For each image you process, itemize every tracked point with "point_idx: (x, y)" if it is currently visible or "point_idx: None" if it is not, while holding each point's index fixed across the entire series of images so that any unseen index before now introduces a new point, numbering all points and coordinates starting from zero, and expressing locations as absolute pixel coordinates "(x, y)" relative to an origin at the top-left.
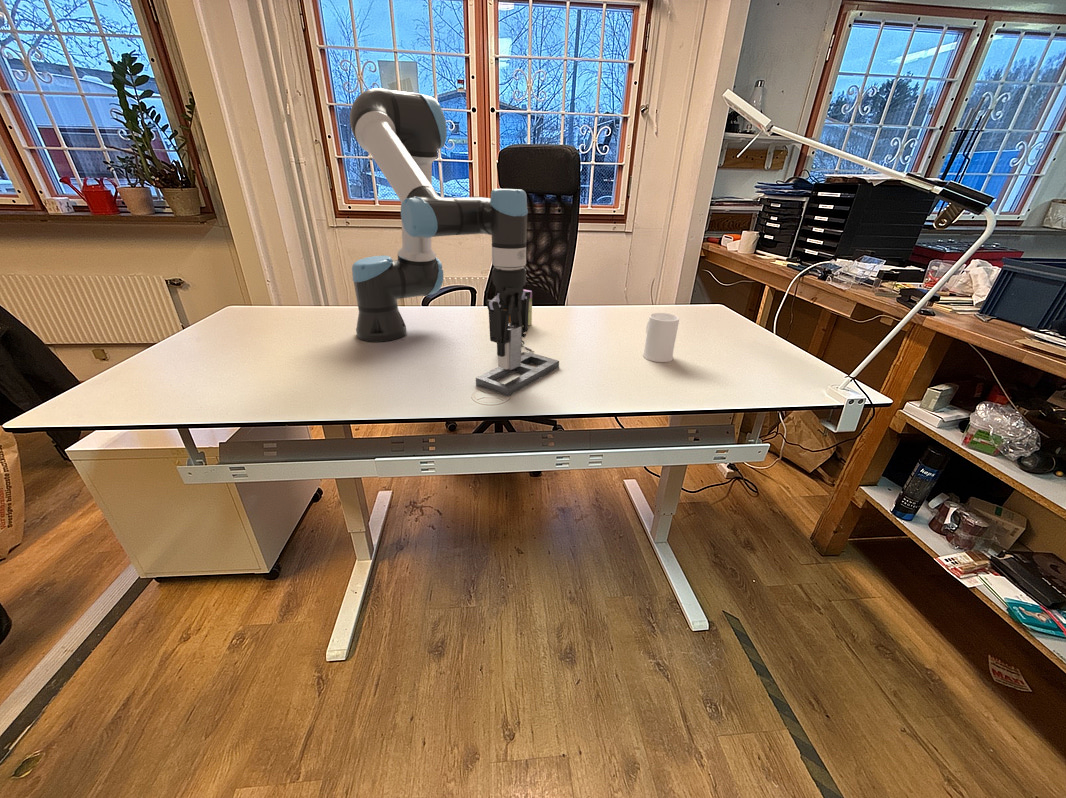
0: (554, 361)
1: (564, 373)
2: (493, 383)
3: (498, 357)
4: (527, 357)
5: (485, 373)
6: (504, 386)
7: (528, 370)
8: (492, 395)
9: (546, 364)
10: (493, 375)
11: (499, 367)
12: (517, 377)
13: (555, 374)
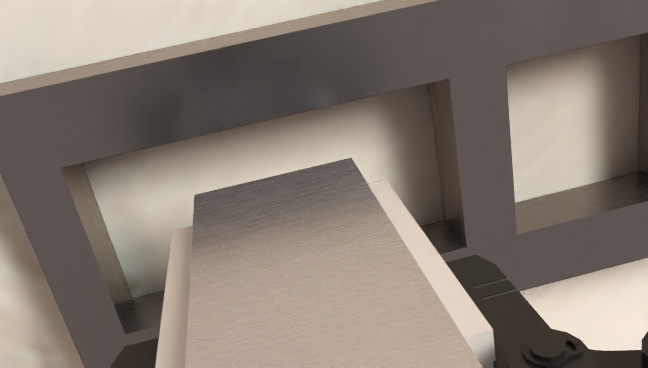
0: None
1: (633, 296)
2: (55, 282)
3: (167, 284)
4: (643, 26)
5: (104, 81)
6: (103, 362)
7: (457, 211)
8: (26, 295)
9: (617, 234)
10: (155, 143)
11: (298, 47)
12: None
13: (584, 277)
